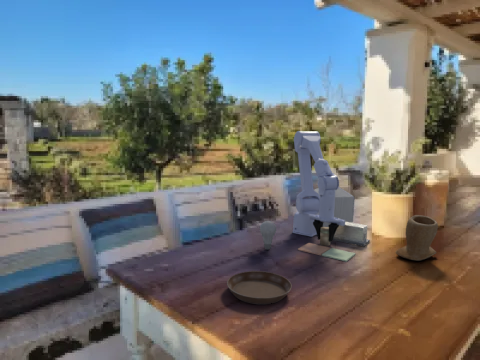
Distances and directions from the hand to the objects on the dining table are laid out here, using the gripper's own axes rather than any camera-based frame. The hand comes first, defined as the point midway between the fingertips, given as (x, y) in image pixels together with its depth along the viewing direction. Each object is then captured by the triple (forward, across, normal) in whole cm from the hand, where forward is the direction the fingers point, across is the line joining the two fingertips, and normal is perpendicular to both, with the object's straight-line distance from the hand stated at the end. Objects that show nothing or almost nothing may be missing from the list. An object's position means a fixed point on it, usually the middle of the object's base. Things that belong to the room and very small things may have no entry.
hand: (325, 240), depth 141 cm
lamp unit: (+2, +5, +10) cm, 12 cm away
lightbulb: (+2, -14, -20) cm, 24 cm away
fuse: (+2, 0, 0) cm, 2 cm away
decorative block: (+2, -11, +30) cm, 32 cm away
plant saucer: (+2, +3, -51) cm, 51 cm away
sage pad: (+2, +9, -8) cm, 12 cm away
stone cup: (+2, +32, +8) cm, 33 cm away
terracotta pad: (+2, 0, -8) cm, 9 cm away
